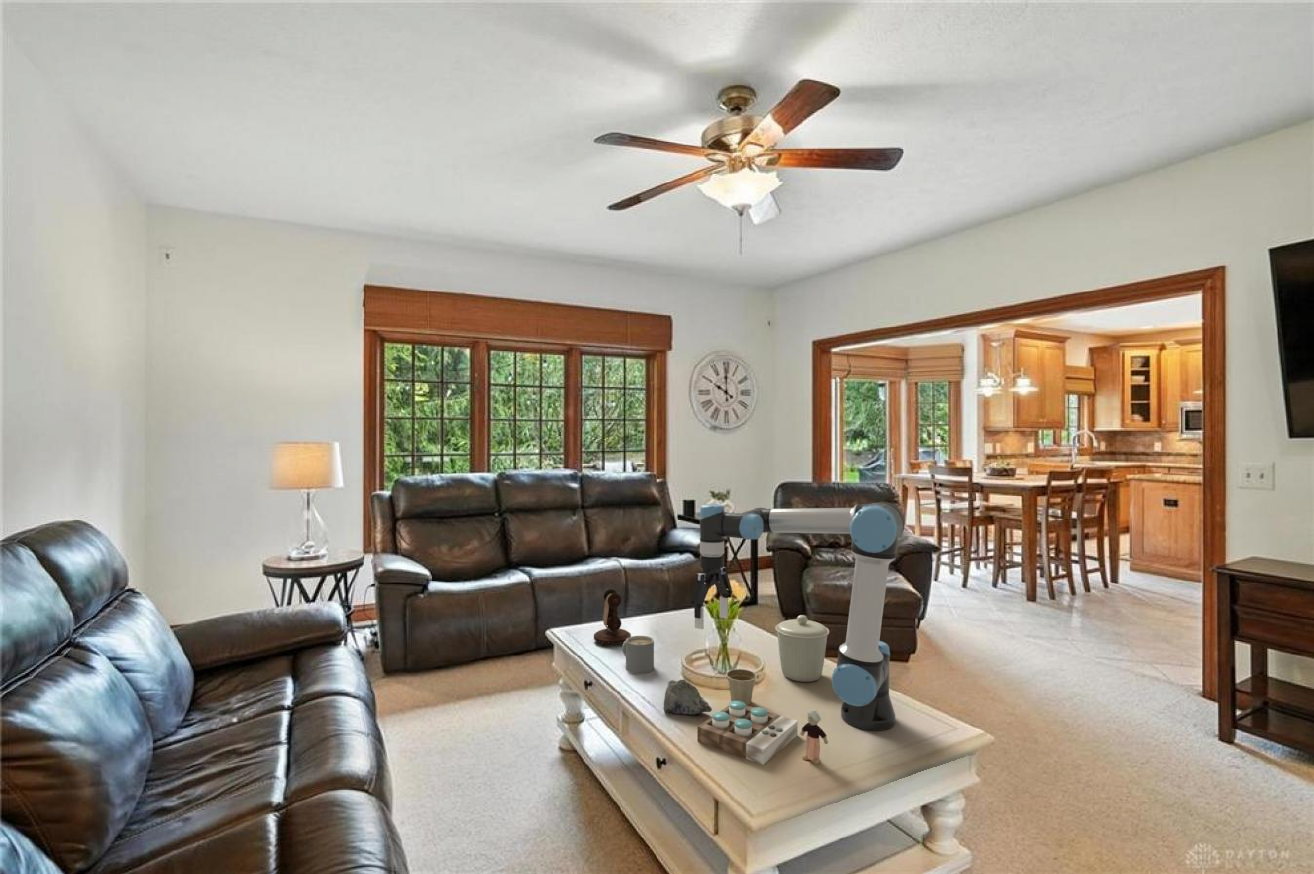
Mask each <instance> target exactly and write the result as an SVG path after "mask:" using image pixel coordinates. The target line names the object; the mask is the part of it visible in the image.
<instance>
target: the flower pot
mask: <svg viewBox="0 0 1314 874" xmlns="http://www.w3.org/2000/svg"><path fill="white" fill-rule="evenodd" d="M725 675H726V677H727V682H728V686H729V692H730V694H729V695H730V702H732V701H741V702H744V703H745V705H747V706H751V703H752V698H753V692H754V686H755V683H756V682H755V681H756V679H757V678H758V675H757V673H756V672H754V671H752V670H748V669H746V668H745V669H744V668H735V669H734V668H733V669H730V670H728V671H726V674H725Z"/></svg>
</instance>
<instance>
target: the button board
mask: <svg viewBox="0 0 1314 874" xmlns="http://www.w3.org/2000/svg"><path fill="white" fill-rule="evenodd" d="M752 708H755V707H754V706H751V705H746V709H745V716H744V717H742V718H738V717H735V716H732V715H729V727H728V728H727V729H726V730H722V729H719V728H716V727H713V726H712V716H711V717H710V718H708V719H706V720H705V721H703V722H702V723H701V724H699V725H698V726H697V730H696V731H697V739H696V740H697V742H699V743H702V744H704V745H707V746H710V747H712V748H715V749H718V750H721V751H724V752H726V753H728V754H731V755H735V756H738V757H740V758H743V759H746V760H749V761H751V762H753V763H757V764H760V765H761V766H764V765H765V764H766V763H768V762H770V760H771V759H772V758H773V757H774V756H776V755H777V754H778V753H779V752H780V751H782V749H784V748H785V747H786V746H787V745H788V744H790V742H791V741H793V740H794V739H795V738H796V737H798V736H799V735H798V731H799V730H798V723H799V721H798V720H796V719H793V718H789V717H786V716H783V715H780V714H778V713H777V714H776V713H773V712H769V711H768V723H766V724H765V725H764V726H763V725H760V724H757V723H754V722H752V735H751V736H750V737H748V738H745V737H742V736H739V735H736V734H734V731H735V720H737V719H747V720H750V721H751V709H752ZM719 712H725V713H728V714H729V705H728V706H726V707H725V708H724V709H721V710H719Z"/></svg>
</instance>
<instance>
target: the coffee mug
mask: <svg viewBox="0 0 1314 874" xmlns="http://www.w3.org/2000/svg"><path fill="white" fill-rule="evenodd" d="M621 647H622V652H623V653H622V654H623V655H624V657H625V670H626V671H627V672H629V673H632V674H636V675H637V674H642V675H643V674H648V673H651V672H652V671H653V670H655V639H654V638H653V637H651V636H648V635H634V636H633V635H631V637H629V638H627V639H626V641H625V642H623V644H622V646H621Z"/></svg>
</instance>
